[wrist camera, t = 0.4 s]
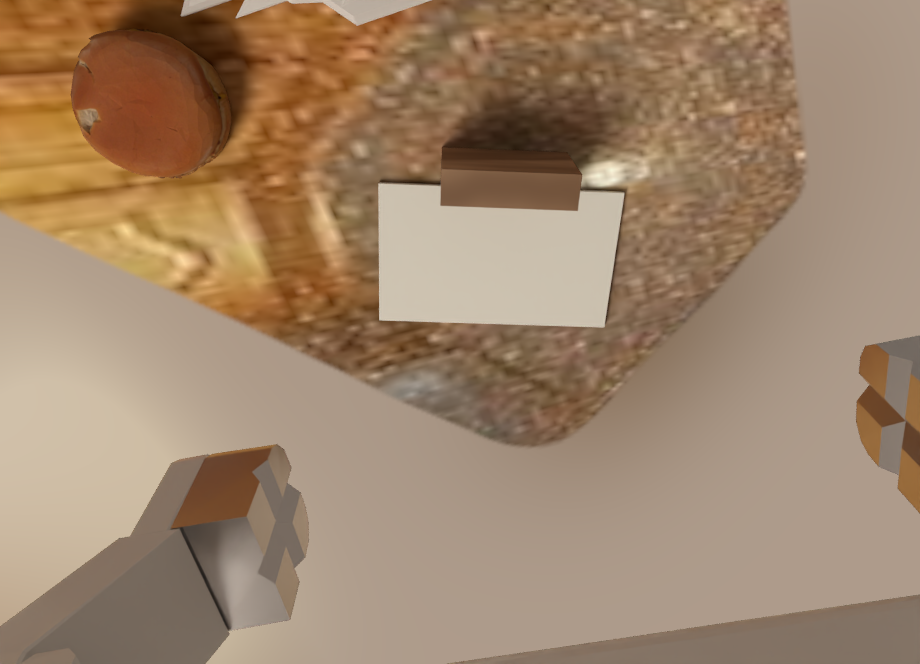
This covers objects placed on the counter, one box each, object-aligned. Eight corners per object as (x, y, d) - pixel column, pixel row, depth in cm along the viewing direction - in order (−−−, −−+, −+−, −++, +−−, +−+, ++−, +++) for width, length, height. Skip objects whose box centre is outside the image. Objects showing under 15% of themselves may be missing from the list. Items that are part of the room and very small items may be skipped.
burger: (257, 138, 51) (241, 153, 47) (148, 192, 52) (123, 211, 48) (178, 0, 47) (152, 2, 43) (62, 62, 48) (26, 70, 44)
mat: (378, 182, 52) (378, 183, 52) (623, 191, 53) (624, 193, 52) (379, 318, 57) (379, 320, 57) (603, 325, 58) (604, 327, 57)
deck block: (441, 146, 51) (441, 169, 45) (566, 151, 52) (582, 174, 46) (440, 179, 52) (440, 205, 46) (563, 184, 53) (577, 211, 47)
